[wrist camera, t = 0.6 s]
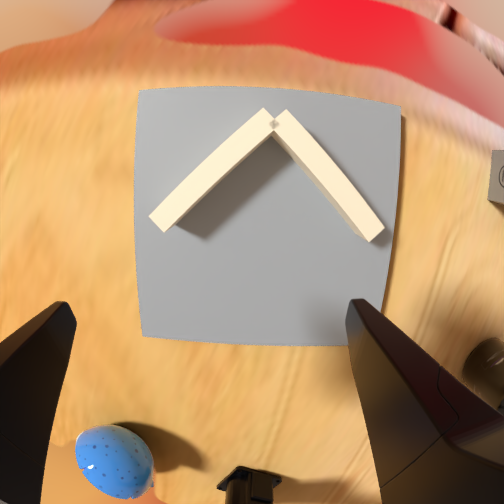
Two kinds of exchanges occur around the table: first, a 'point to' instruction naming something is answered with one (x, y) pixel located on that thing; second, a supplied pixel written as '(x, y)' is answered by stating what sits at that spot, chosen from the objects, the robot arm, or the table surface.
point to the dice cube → (497, 177)
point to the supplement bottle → (487, 373)
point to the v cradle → (261, 212)
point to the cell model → (115, 461)
